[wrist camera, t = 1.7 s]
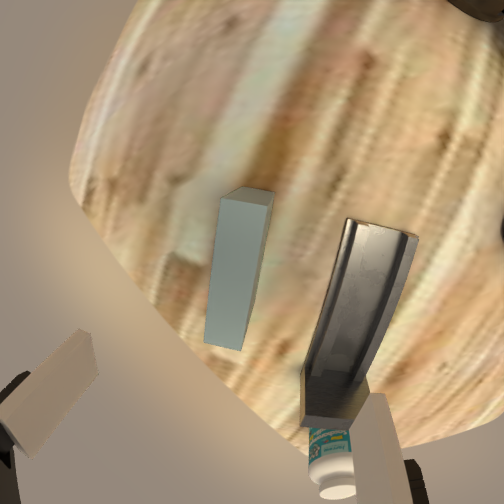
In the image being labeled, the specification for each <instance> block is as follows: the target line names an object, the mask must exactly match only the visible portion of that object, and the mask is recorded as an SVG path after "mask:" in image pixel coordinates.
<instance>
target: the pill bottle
mask: <svg viewBox="0 0 504 504" xmlns="http://www.w3.org/2000/svg"><path fill="white" fill-rule="evenodd" d="M308 473H309V477H310V479H311V480H312V481H313V482H315V483H316V484H319V485H320V487H319V495H320V496H321V497H322V498H325V499H343V498H347V497H350V496H353V495H355V494H356V487H355V476H354V467H353V458H352V450H351V442H350V434H349V431H346V430H331V429H320V428H310V427H309V470H308Z"/></svg>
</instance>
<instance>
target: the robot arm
mask: <svg viewBox="0 0 504 504" xmlns="http://www.w3.org/2000/svg"><path fill="white" fill-rule="evenodd" d="M448 1H450V2H451V3H452V4H454V5H455V6H456V7H458V8H459V9H461V10H462V11H464V12H466V13H467V14H469V15H471V16H473V17H475V18H477V19H480V20H483V21H486V22H497V21H500V20H501V19H503V18H504V0H448ZM98 375H99V373H98V369H97V364H96V359H95V355H94V349H93V344H92V339H91V333H88V332H85V331H83V330H81V329H78V330H77V331H76V332H75V333H73V334H72V335H71V336H70V337H69V338H68V339H67V340H66V341H65V342H64V343H63V344H61V345H60V346H59V347H58V348H57V349H56V350H55V351H54V352H53V353H52V354H51V355H50V356H49V357H48V358H46V360H44V361H43V363H42V364H40V365H39V366H38V367H37V368H36V369H35V370H34V371H33V372H32V373H30V372H29V371H26V372H23V373H21V374H19V375H18V376H16V377H15V378H14V379H13V380H12V381H11V383H9V384H8V385H7V386H6V388H4V389H3V390H2V391H1V392H0V504H21V501H20V495H19V490H18V483H17V477H16V468H15V458H14V450H13V445H14V444H15V445H16V446H17V448H18V449H19V450H20V452H22V453H23V454H25V455H26V456H27V457H28V458H30V459H31V460H32V459H33V458H34V457H35V455H36V454H37V453H38V451H39V450H40V449H41V447H42V446H43V445H44V443H45V442H46V440H47V439H48V438H49V437H50V435H51V434H52V433H53V431H54V430H55V429H56V427H57V426H58V425H59V424H60V422H61V421H62V420H63V418H64V417H65V416H66V415H67V413H68V412H69V411H70V410H71V408H72V407H73V406H74V405H75V403H76V402H77V401H78V399H79V398H80V397H81V396H82V394H83V393H84V392H85V391H86V389H87V388H88V387H89V386H90V385H91V383H92V382H93V381H94V380H95V378H96V377H97V376H98ZM349 434H350V442H351V450H352V458H353V467H354V476H355V487H356V497H357V504H429V500H428V496H427V492H426V488H425V483H424V480H423V476H422V472H421V468H420V467H419V465H418V464H417V463H416V461H415V460H414V459H410V460H403V456H402V452H401V448H400V445H399V441H398V437H397V433H396V430H395V426H394V423H393V419H392V416H391V412H390V409H389V406H388V402H387V399H386V396H385V394H382V393H370V394H369V396H368V398H367V399H366V401H365V403H364V405H363V407H362V408H361V410H360V412H359V413H358V415H357V417H356V419H355V420H354V422H353V424H352V425H351V427H350V428H349Z"/></svg>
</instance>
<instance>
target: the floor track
mask: <svg viewBox="0 0 504 504" xmlns="http://www.w3.org/2000/svg"><path fill="white" fill-rule="evenodd" d="M418 237H419V236H417V235H415V234H411V233H407V232H403V231H399V230H395V229H391V228H387V227H383V226H379V225H375V224H371V223H367V222H363V221H359V220H354V219H350V218H347V220H346V224H345V228H344V232H343V236H342V240H341V244H340V248H339V252H338V256H337V260H336V263H335V267H334V271H333V274H332V278H331V281H330V285H329V288H328V292H327V295H326V299H325V302H324V305H323V309H322V312H321V315H320V318H319V321H318V325H317V328H316V331H315V334H314V337H313V340H312V343H311V346H310V349H309V352H308V355H307V357H306V360H305V363H304V366H303V369H302V372H301V374H300V426H301V427H310V428H320V429H331V430H346V431H349V428H350V427H351V425H352V424H353V422H354V420H355V419H356V417H357V415H358V413H359V412H360V410H361V408H362V407H363V405H364V403H365V401H366V399H367V398H368V396H369V394H370V390H369V386H368V382H367V379H366V374H367V372H368V370H369V367H370V365H371V363H372V361H373V359H374V357H375V355H376V353H377V351H378V349H379V346H380V344H381V342H382V340H383V337H384V335H385V333H386V330H387V328H388V326H389V323H390V321H391V318H392V316H393V314H394V311H395V308H396V306H397V303H398V301H399V298H400V295H401V293H402V290H403V287H404V284H405V282H406V279H407V276H408V273H409V270H410V267H411V264H412V261H413V257H414V254H415V251H416V248H417V244H418V241H419V239H418Z"/></svg>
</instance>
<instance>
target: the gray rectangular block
mask: <svg viewBox="0 0 504 504" xmlns="http://www.w3.org/2000/svg"><path fill="white" fill-rule="evenodd" d="M274 195H275V192H271V191H266V190H260V189H254V188H249V187H243V186H242V187H240V188H239V189H237V190H235V191H233V192H231V193H229V194H227V195H225V196H224V197H222V198H221V201H220V208H219V215H218V222H217V230H216V237H215V245H214V253H213V261H212V269H211V277H210V286H209V294H208V304H207V313H206V322H205V332H204V343H208V344H212V345H216V346H220V347H224V348H229V349H233V350H237V351H241V349H242V346H243V342H244V338H245V335H246V331H247V328H248V324H249V320H250V317H251V313H252V309H253V306H254V302H255V297H256V292H257V287H258V281H259V276H260V271H261V265H262V260H263V255H264V250H265V244H266V239H267V233H268V228H269V223H270V217H271V212H272V206H273V201H274Z"/></svg>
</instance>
